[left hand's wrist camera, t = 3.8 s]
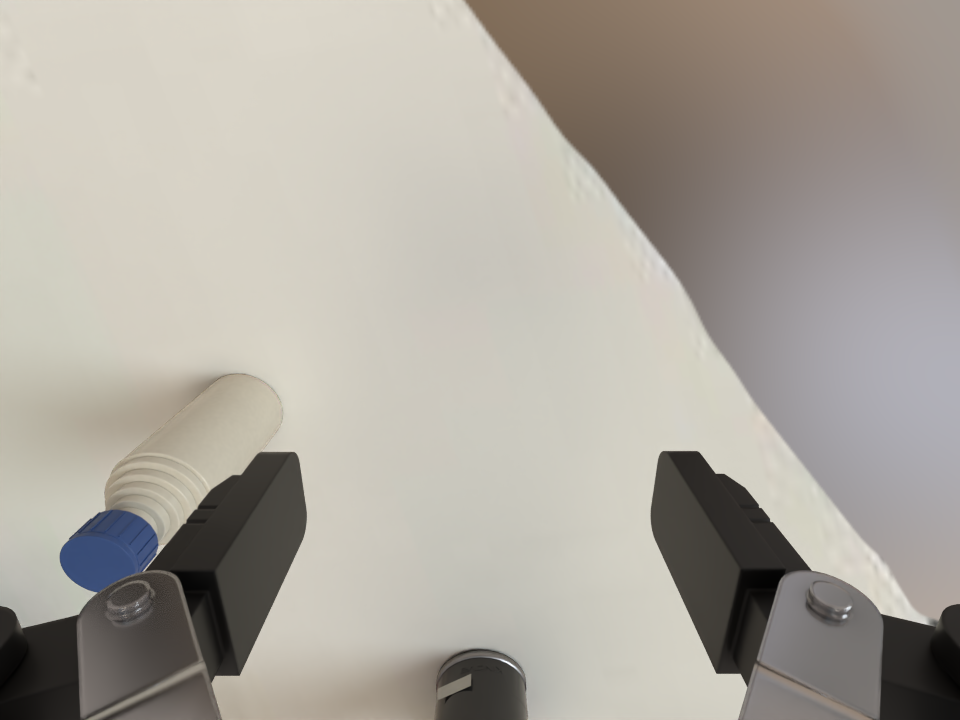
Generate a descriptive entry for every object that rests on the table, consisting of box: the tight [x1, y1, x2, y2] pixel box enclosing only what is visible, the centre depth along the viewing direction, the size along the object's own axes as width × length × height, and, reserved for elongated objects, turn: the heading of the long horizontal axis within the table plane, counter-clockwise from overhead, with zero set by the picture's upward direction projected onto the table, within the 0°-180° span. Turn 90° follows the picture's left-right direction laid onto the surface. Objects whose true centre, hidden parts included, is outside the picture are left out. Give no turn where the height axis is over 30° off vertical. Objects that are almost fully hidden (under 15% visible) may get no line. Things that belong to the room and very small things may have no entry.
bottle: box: [105, 374, 283, 545], centre depth 35 cm, size 6×6×18 cm
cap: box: [60, 509, 159, 592], centre depth 28 cm, size 4×4×2 cm
